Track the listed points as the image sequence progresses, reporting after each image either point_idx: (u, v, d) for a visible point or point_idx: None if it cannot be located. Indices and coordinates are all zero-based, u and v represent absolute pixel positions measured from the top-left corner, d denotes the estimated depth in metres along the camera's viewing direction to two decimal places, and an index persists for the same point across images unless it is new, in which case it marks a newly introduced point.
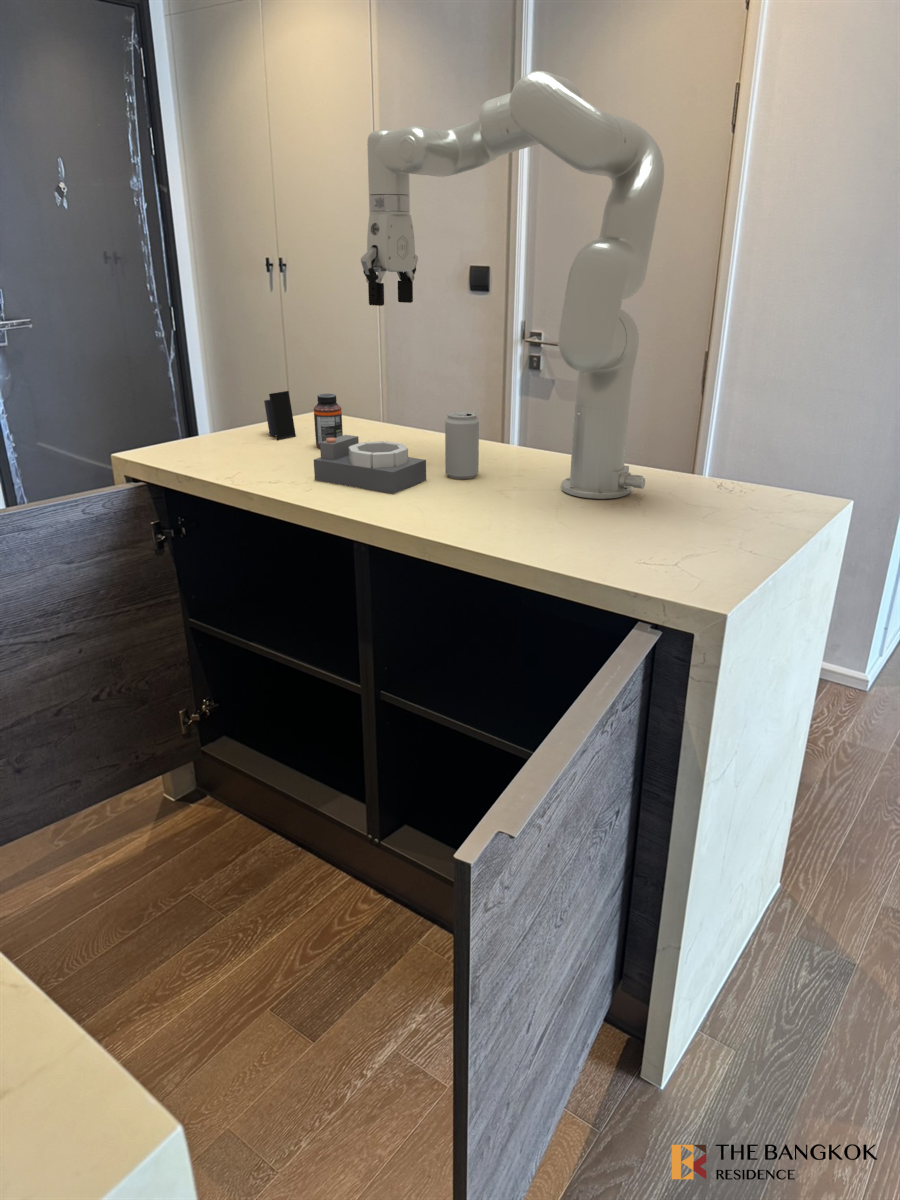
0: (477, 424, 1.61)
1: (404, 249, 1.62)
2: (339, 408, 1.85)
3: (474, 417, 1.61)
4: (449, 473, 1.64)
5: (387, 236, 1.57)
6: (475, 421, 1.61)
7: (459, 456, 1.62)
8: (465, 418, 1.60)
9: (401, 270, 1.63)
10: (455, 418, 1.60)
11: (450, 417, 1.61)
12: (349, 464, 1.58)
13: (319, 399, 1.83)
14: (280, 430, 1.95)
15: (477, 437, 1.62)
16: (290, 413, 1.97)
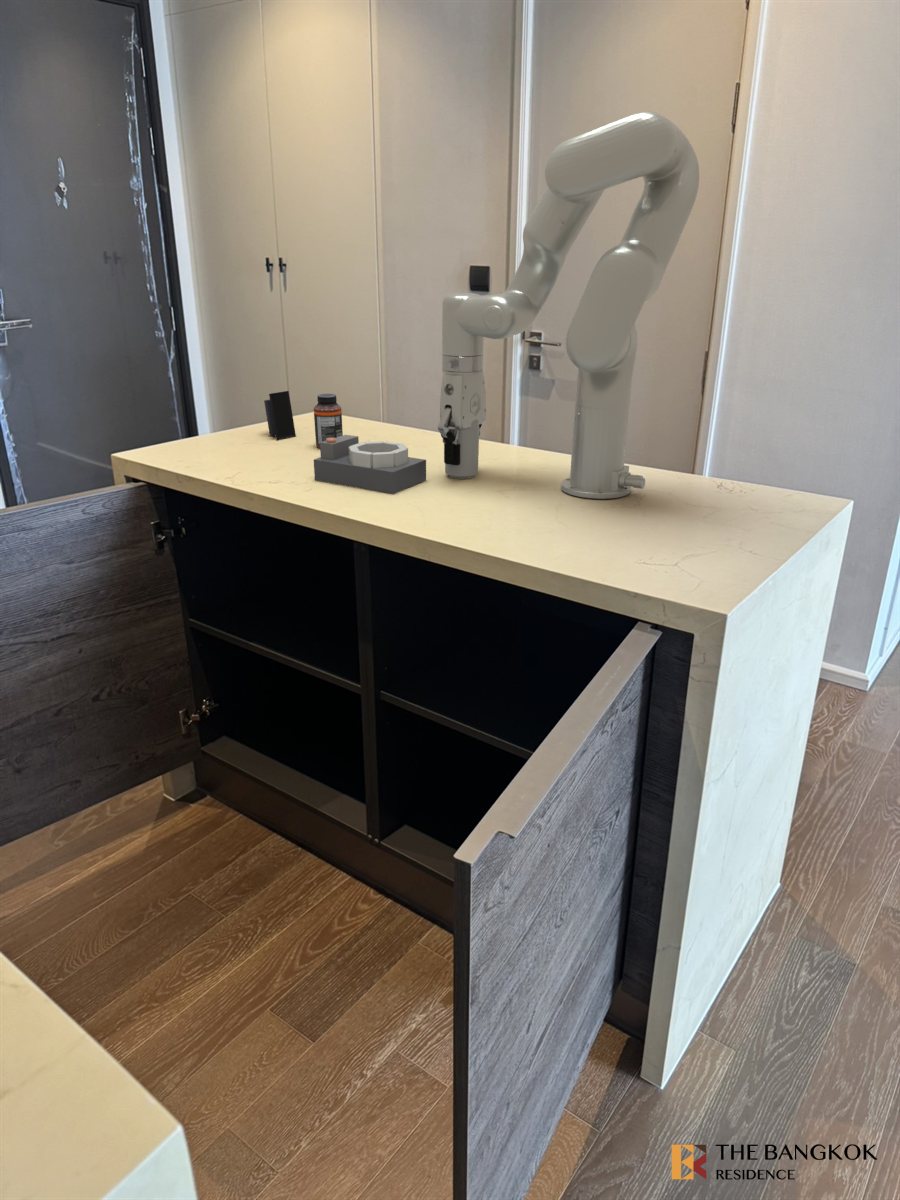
0: (477, 424, 1.61)
1: (476, 405, 1.61)
2: (339, 408, 1.85)
3: None
4: (449, 473, 1.64)
5: (462, 397, 1.56)
6: (475, 421, 1.61)
7: None
8: None
9: None
10: None
11: None
12: (349, 464, 1.58)
13: (319, 399, 1.83)
14: (280, 430, 1.95)
15: (477, 437, 1.62)
16: (290, 413, 1.97)
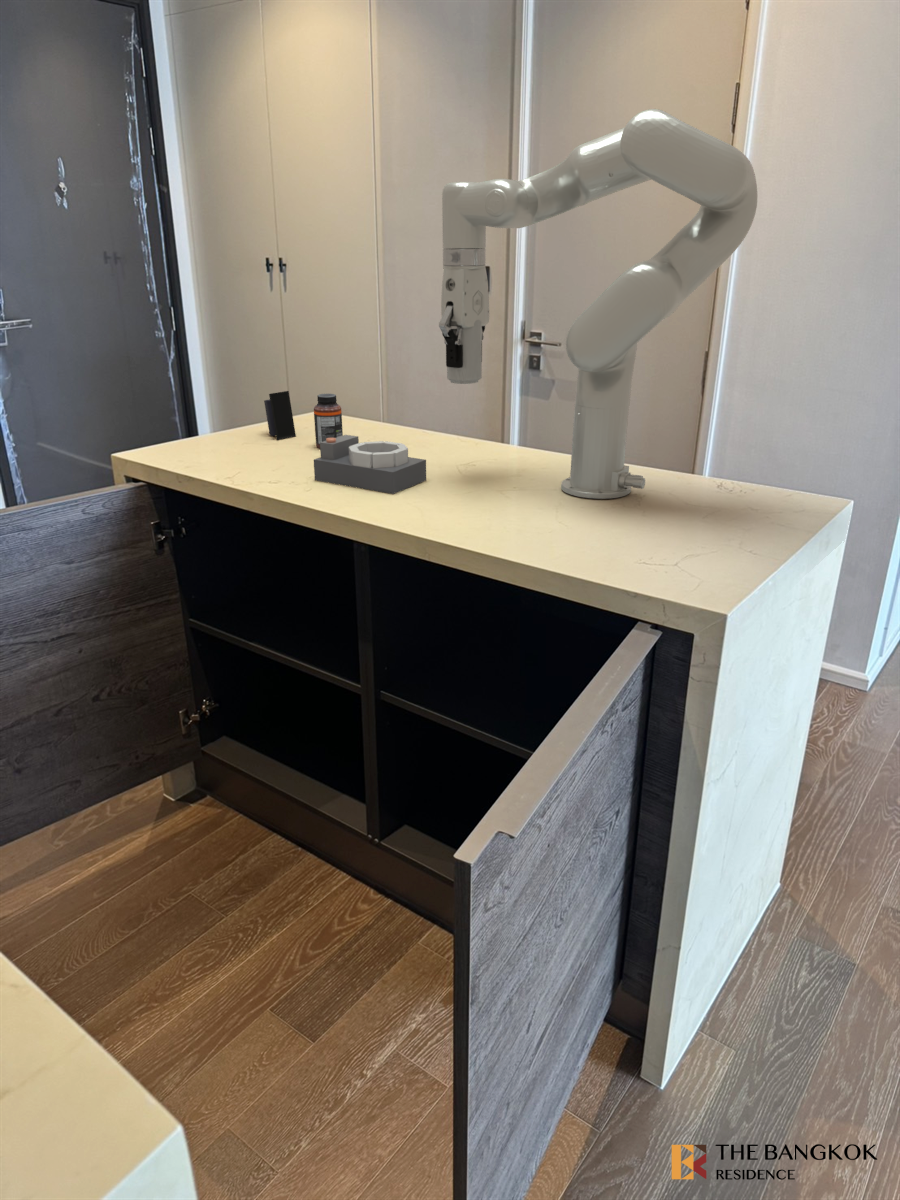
0: (480, 324, 1.54)
1: (479, 304, 1.53)
2: (339, 408, 1.85)
3: None
4: (451, 378, 1.57)
5: (464, 292, 1.49)
6: (477, 321, 1.54)
7: None
8: None
9: None
10: None
11: None
12: (349, 464, 1.58)
13: (319, 399, 1.83)
14: (280, 430, 1.95)
15: (480, 338, 1.55)
16: (290, 413, 1.97)
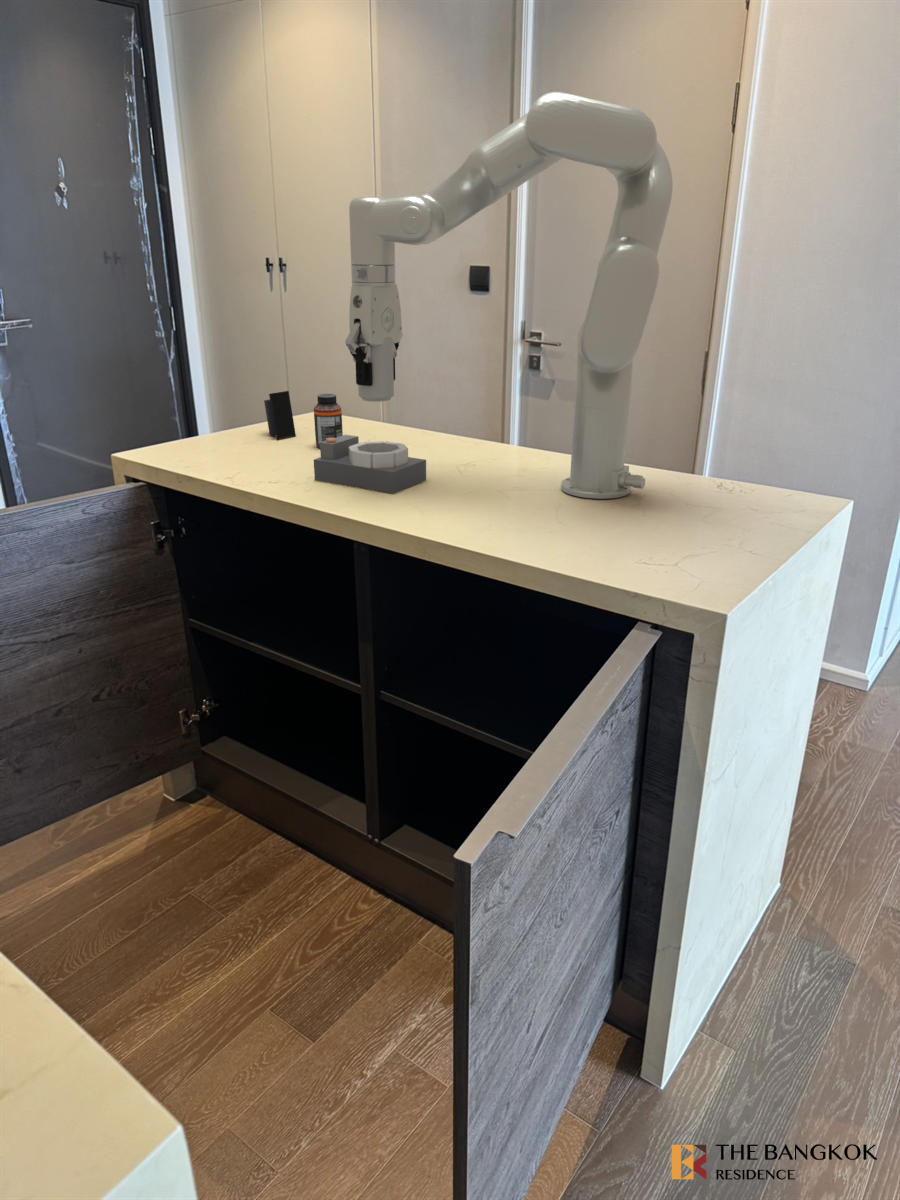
0: (390, 341, 1.51)
1: (389, 321, 1.50)
2: (339, 408, 1.85)
3: None
4: (362, 395, 1.54)
5: (371, 310, 1.46)
6: (387, 338, 1.50)
7: None
8: None
9: None
10: None
11: None
12: (349, 464, 1.58)
13: (319, 399, 1.83)
14: (280, 430, 1.95)
15: (390, 356, 1.52)
16: (290, 413, 1.97)
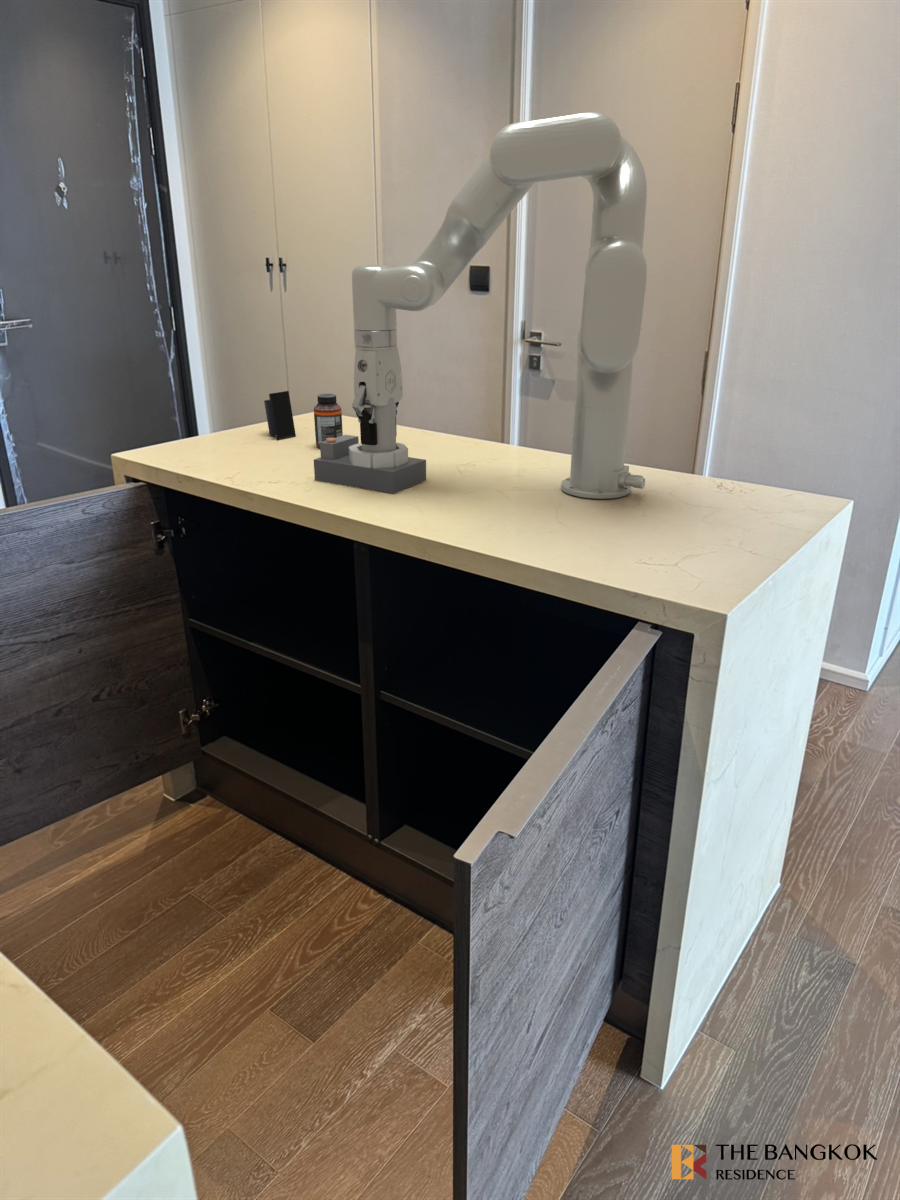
0: (393, 402, 1.55)
1: (392, 382, 1.55)
2: (339, 408, 1.85)
3: None
4: None
5: (376, 373, 1.50)
6: (390, 399, 1.55)
7: None
8: None
9: None
10: None
11: None
12: (349, 464, 1.58)
13: (319, 399, 1.83)
14: (280, 430, 1.95)
15: (393, 415, 1.56)
16: (290, 413, 1.97)
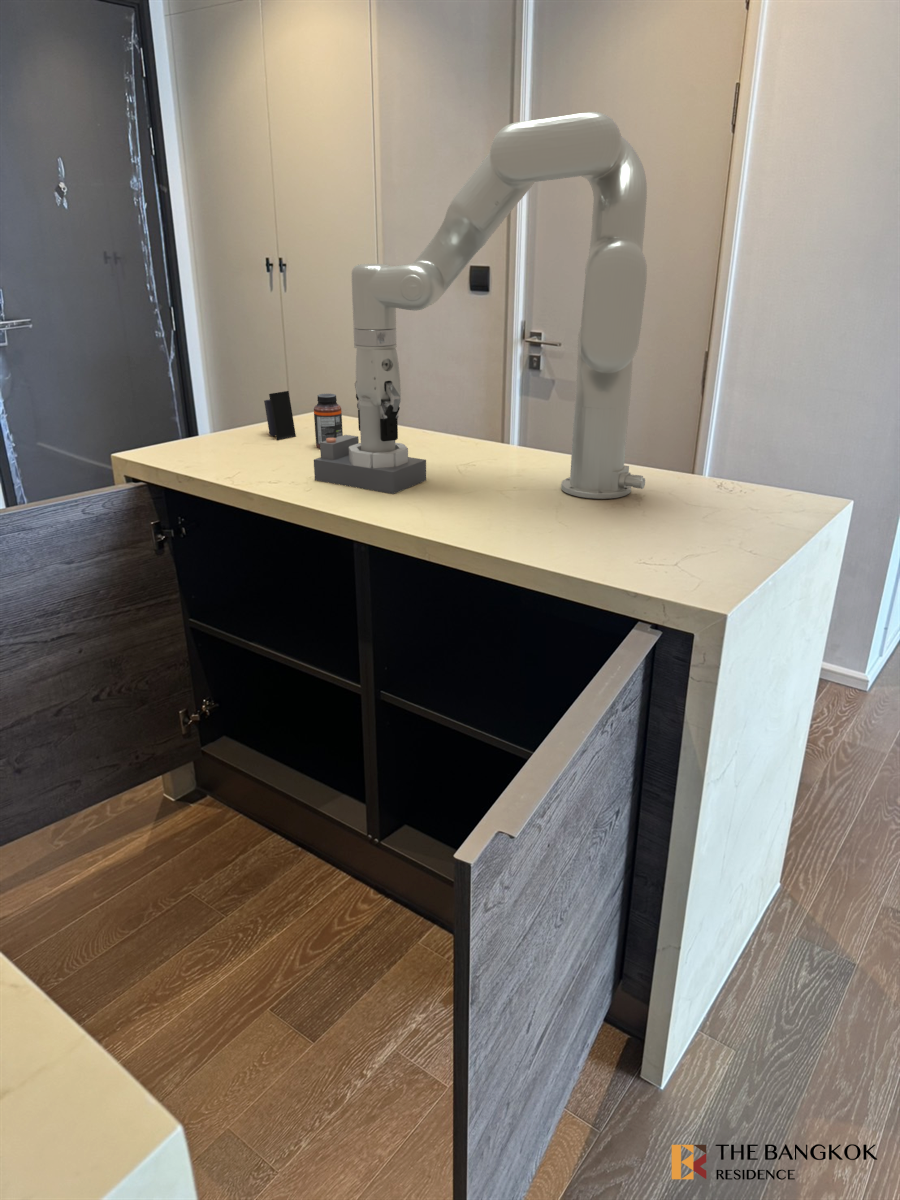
0: None
1: None
2: (339, 408, 1.85)
3: None
4: None
5: None
6: None
7: None
8: None
9: None
10: None
11: None
12: (349, 464, 1.58)
13: (319, 399, 1.83)
14: (280, 430, 1.95)
15: None
16: (290, 413, 1.97)
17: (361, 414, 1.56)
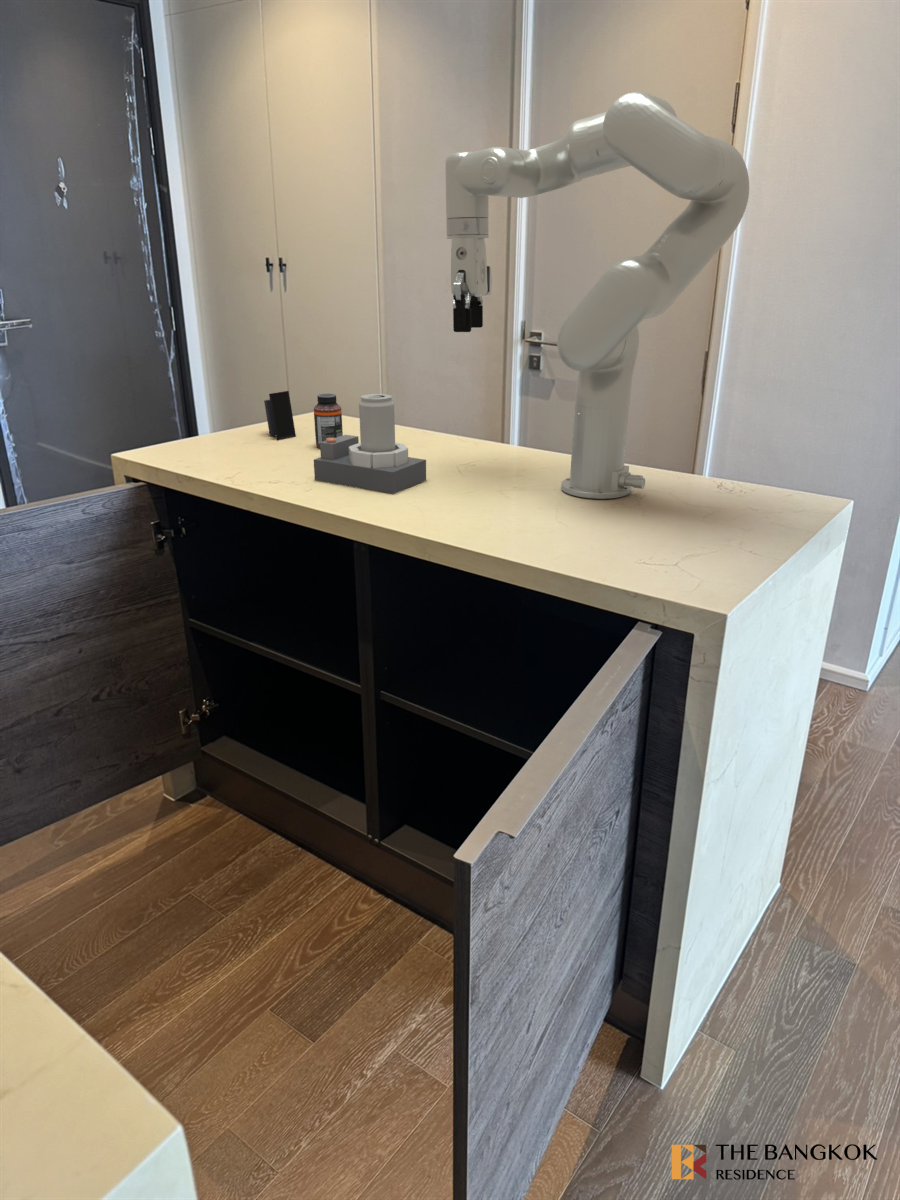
0: None
1: (483, 273, 1.57)
2: (339, 408, 1.85)
3: None
4: None
5: (476, 260, 1.52)
6: None
7: (390, 438, 1.57)
8: (390, 398, 1.55)
9: (481, 294, 1.58)
10: (383, 400, 1.54)
11: (377, 400, 1.54)
12: (349, 464, 1.58)
13: (319, 399, 1.83)
14: (280, 430, 1.95)
15: None
16: (290, 413, 1.97)
17: (361, 414, 1.56)
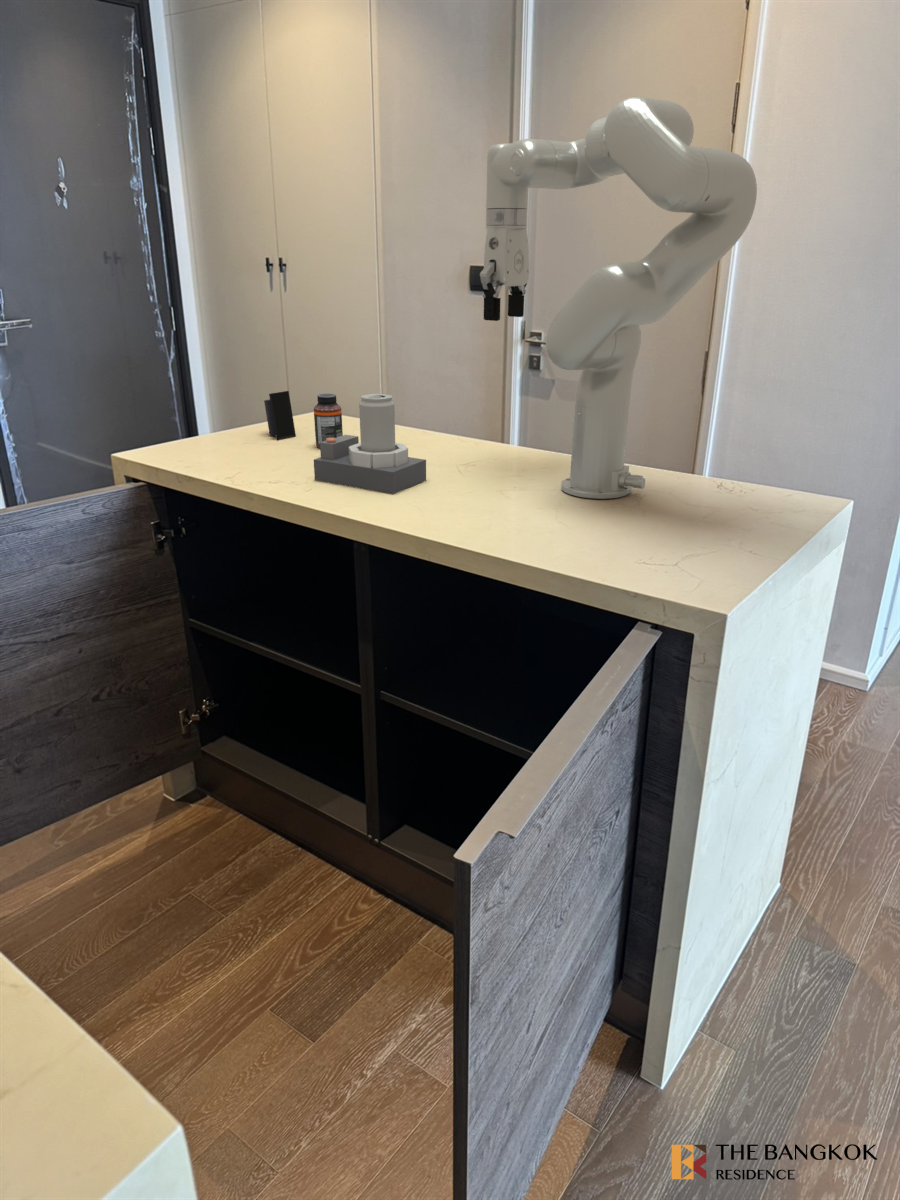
0: None
1: (520, 263, 1.60)
2: (339, 408, 1.85)
3: None
4: None
5: (507, 251, 1.55)
6: None
7: (390, 438, 1.57)
8: (390, 398, 1.55)
9: (516, 284, 1.60)
10: (383, 400, 1.54)
11: (377, 400, 1.54)
12: (349, 464, 1.58)
13: (319, 399, 1.83)
14: (280, 430, 1.95)
15: None
16: (290, 413, 1.97)
17: (361, 414, 1.56)
